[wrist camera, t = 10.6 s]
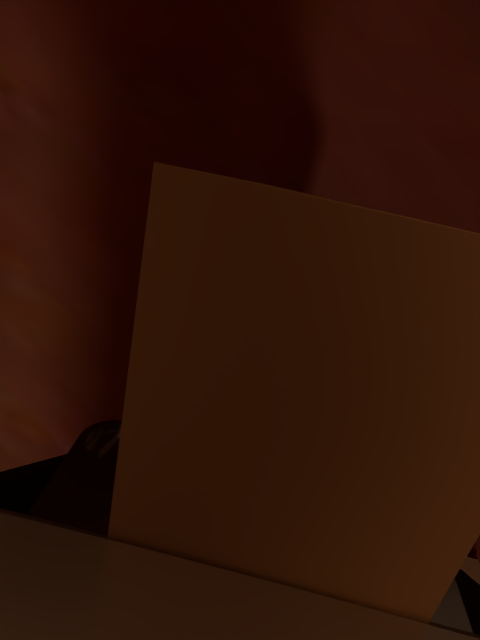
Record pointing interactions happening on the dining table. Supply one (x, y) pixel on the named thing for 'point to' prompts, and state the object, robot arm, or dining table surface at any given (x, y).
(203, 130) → the dining table surface
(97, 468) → the robot arm
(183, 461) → the door
